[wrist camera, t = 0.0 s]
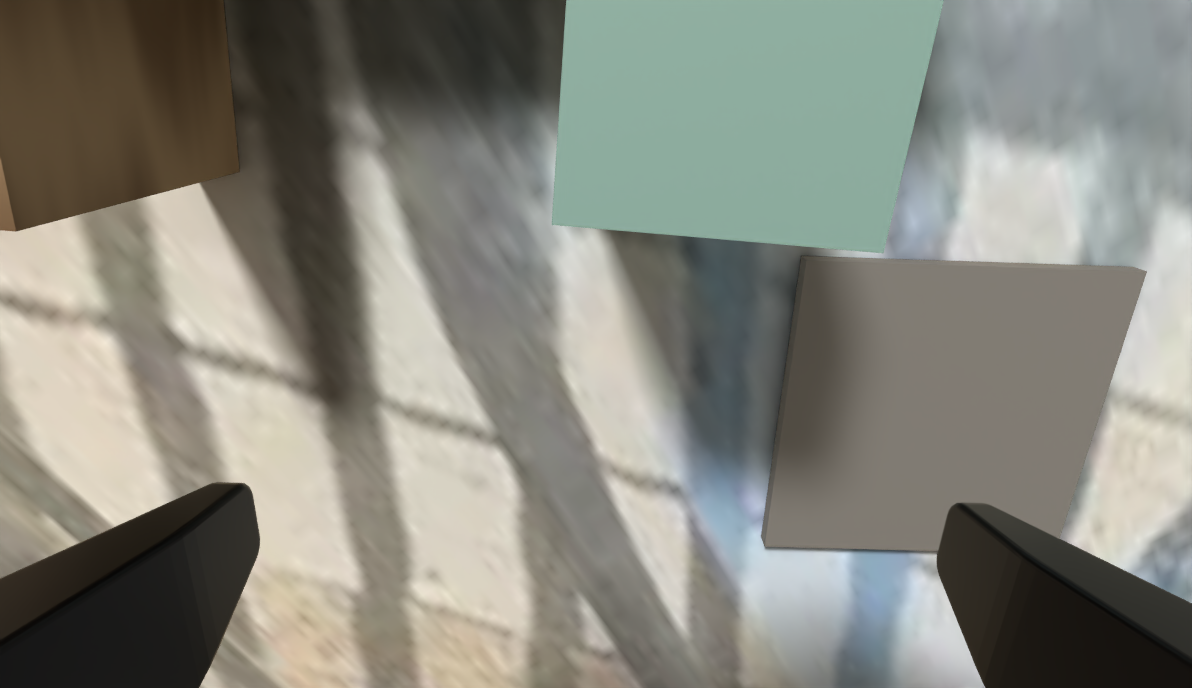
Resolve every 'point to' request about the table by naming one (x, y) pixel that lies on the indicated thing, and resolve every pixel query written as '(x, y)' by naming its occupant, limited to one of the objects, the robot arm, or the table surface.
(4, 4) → the screen
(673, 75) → the block
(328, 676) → the table surface
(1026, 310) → the mat
